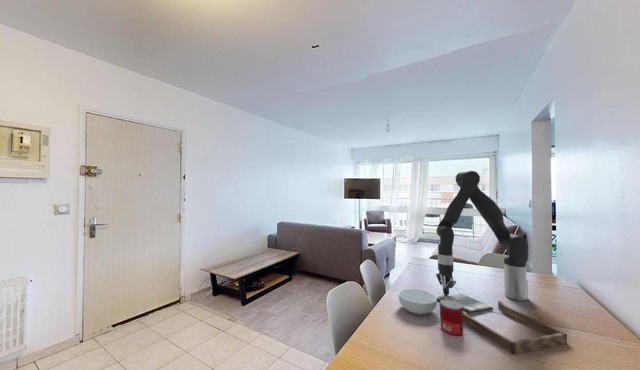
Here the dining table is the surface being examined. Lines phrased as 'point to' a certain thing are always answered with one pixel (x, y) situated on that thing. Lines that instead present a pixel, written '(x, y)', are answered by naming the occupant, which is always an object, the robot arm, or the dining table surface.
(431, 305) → the cereal bowl
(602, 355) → the dining table surface
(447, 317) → the canned food
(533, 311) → the dining table surface
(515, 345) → the towel holder
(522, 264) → the robot arm
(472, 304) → the dish towel
